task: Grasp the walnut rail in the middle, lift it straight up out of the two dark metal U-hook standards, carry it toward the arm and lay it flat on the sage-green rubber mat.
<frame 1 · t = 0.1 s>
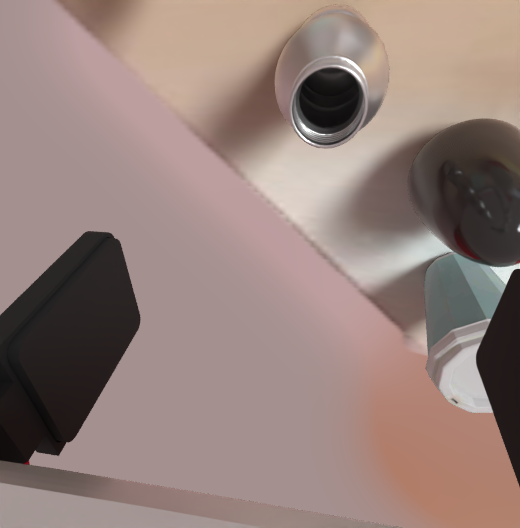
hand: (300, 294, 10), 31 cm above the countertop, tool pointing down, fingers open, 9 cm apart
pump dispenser: (458, 162, 38), on the countertop
disposable coffee cup: (455, 274, 45), on the countertop
plastic bottle: (333, 49, 34), on the countertop
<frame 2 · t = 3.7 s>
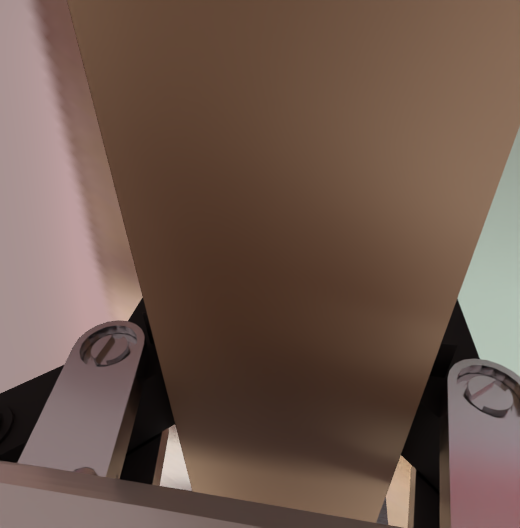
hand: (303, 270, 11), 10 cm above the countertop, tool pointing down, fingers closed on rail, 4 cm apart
rail: (301, 286, 10), point 11 cm above the countertop, touching gripper, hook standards
when the fingers open (2 cm above the countertop, at t = 12.2 s): rail drops 2 cm, resting on mat.
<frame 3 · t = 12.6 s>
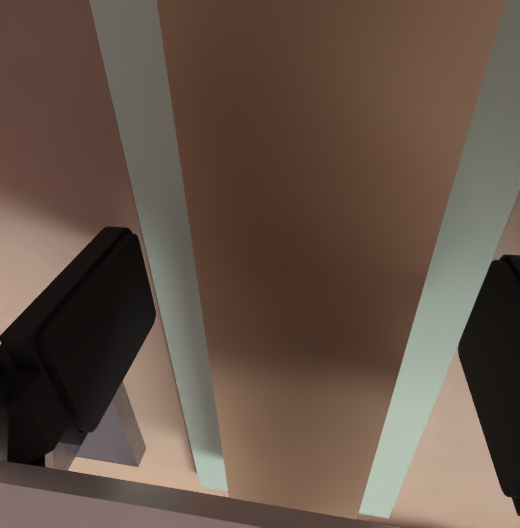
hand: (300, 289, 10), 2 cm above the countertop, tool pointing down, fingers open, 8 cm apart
mat: (307, 239, 12), on the countertop
rail: (311, 250, 11), point 1 cm above the countertop, touching mat
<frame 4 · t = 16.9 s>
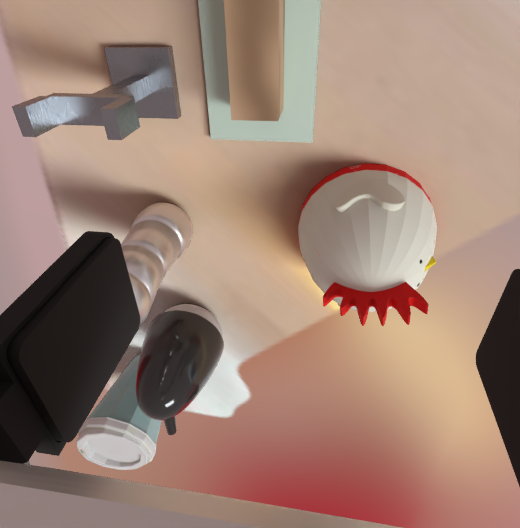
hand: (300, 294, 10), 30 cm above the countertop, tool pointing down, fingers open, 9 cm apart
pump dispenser: (195, 319, 55), on the countertop
disposable coffee cup: (155, 364, 63), on the countertop
kitchen timer: (363, 224, 42), on the countertop
plastic bottle: (171, 219, 46), on the countertop
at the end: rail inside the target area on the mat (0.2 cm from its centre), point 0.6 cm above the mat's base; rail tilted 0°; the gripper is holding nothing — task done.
